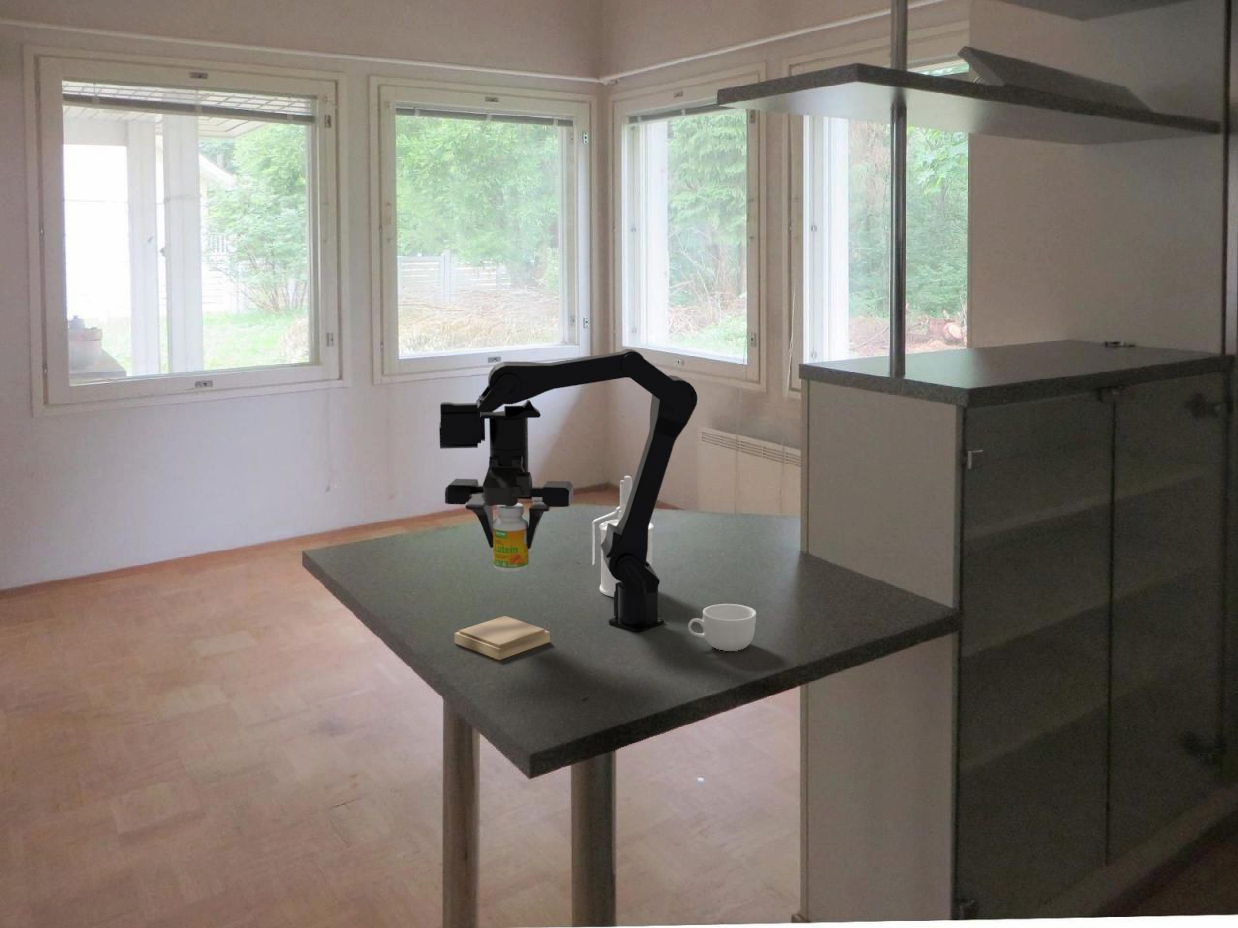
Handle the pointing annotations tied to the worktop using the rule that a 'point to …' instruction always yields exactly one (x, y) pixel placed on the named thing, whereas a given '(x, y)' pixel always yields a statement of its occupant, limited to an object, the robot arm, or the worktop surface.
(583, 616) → the worktop surface
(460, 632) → the beige square tray
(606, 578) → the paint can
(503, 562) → the supplement bottle
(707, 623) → the teacup
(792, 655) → the worktop surface
